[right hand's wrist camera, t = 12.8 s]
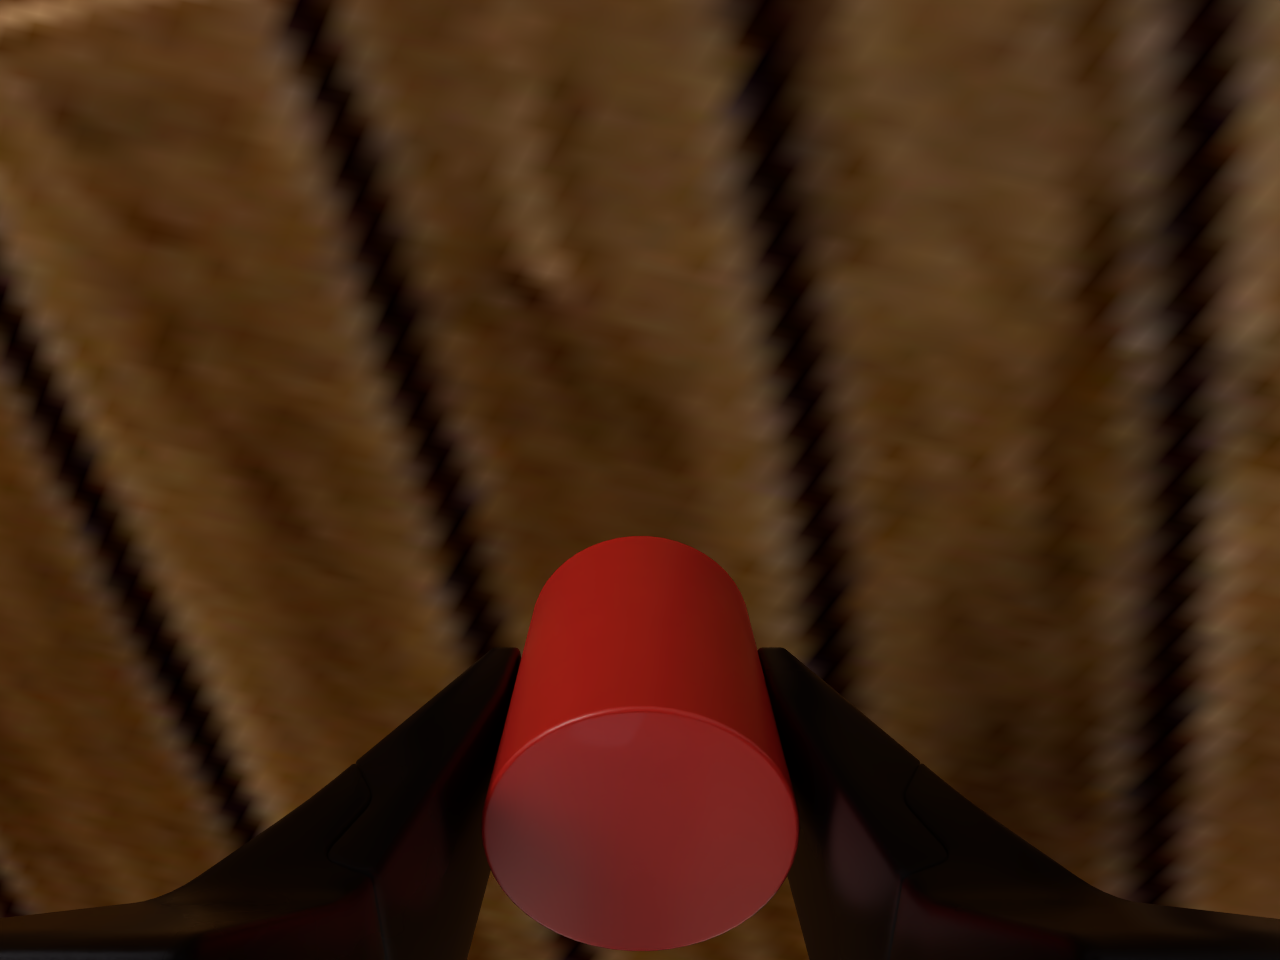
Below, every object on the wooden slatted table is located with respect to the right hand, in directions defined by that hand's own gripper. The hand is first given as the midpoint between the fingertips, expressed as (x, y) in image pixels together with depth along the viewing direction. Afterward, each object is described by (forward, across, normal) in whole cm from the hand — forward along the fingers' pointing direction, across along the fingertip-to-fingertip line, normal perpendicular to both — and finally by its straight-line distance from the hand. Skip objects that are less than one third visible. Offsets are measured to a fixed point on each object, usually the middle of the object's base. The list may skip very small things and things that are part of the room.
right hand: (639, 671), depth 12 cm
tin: (+1, 0, 0) cm, 1 cm away
